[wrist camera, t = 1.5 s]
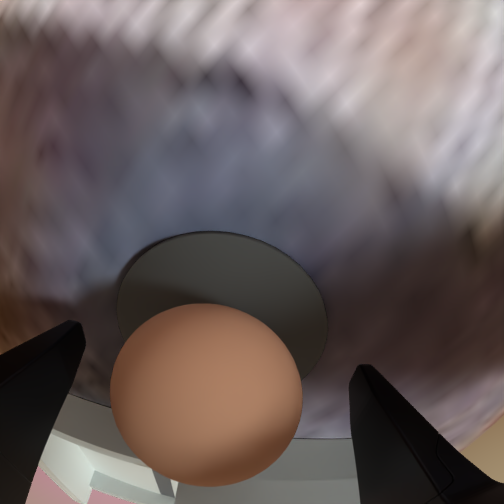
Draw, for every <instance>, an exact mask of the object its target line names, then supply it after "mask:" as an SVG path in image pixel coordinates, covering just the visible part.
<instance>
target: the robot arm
mask: <svg viewBox="0 0 504 504" xmlns="http://www.w3.org/2000/svg"><path fill="white" fill-rule="evenodd" d="M85 347H86V340H85V336H84V332H83V328H82V325H81V323H79V322H77V321H73V320H68V321H66V322H64V323H62V324H60V325H58V326H56V327H54V328H52V329H50V330H48V331H46V332H44V333H42V334H40V335H38V336H36V337H34V338H32V339H30V340H28V341H27V342H25V343H23V344H21V345H19V346H17V347H15V348H13V349H11V350H9V351H7V352H5V353H3V354H1V355H0V504H25V502H26V499H27V496H28V493H29V489H30V487H31V484H32V483H31V482H32V481H33V477H34V475H35V472H36V469H37V467H38V464H39V461H40V459H41V456H42V453H43V451H44V448H45V446H46V443H47V441H48V438H49V436H50V433H51V431H52V429H53V426H54V424H55V422H56V419H57V417H58V415H59V412H60V410H61V408H62V406H63V403H64V401H65V399H66V397H67V395H68V393H69V390H70V388H71V386H72V383H73V381H74V378H75V375H76V372H77V369H78V367H79V364H80V361H81V358H82V356H83V353H84V350H85ZM349 403H350V427H351V436H352V442H353V449H354V456H355V464H356V471H357V479H358V488H359V497H360V504H504V483H500V482H497V481H495V480H493V479H491V478H490V477H489V476H487V475H486V474H485V473H484V472H482V471H481V470H480V469H479V468H477V467H476V466H475V465H474V464H473V463H471V462H470V461H469V460H468V459H466V458H465V457H464V456H463V455H462V454H461V453H460V452H458V451H457V450H456V449H455V448H454V447H453V446H452V445H451V444H450V443H449V442H448V441H447V440H446V439H445V438H444V437H443V436H442V435H441V434H438V431H437V430H436V429H435V428H434V427H433V426H432V425H431V424H430V423H429V422H428V421H427V420H426V419H425V418H424V417H423V416H422V415H421V414H420V413H419V412H418V411H417V410H416V409H415V408H414V407H413V406H412V405H411V404H410V403H409V402H408V401H407V400H406V399H405V398H404V397H403V396H402V395H401V394H400V393H399V392H398V391H397V390H396V389H395V388H394V387H393V386H392V385H391V384H390V383H389V382H388V381H387V380H386V379H385V378H384V377H383V376H382V375H381V374H380V373H379V372H378V371H377V370H376V369H375V368H374V367H373V366H372V365H370V364H360V365H358V366H357V368H356V370H355V372H354V374H353V376H352V378H351V380H350V383H349Z"/></svg>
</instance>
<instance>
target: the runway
mask: <svg viewBox="0 0 504 504" xmlns="http://www.w3.org/2000/svg"><path fill="white" fill-rule="evenodd" d="M38 466H39V467H40V468H41V469H42V470H43V471H44V472H45V473H46V474H47V475H48V476H49V477H50V478H51V479H52V480H53V481H54V482H55V483H56V484H57V485H58V486H59V487H60V488H61V489H62V490H63V491H64V492H65V493H66V494H67V495H68V496H69V497H71V498H72V499H73V500H74V501H76V502H78V503H81V504H87V503H88V500H89V497H90V494H91V491H92V489H94V490H97V491H100V492H102V493H105V494H108V495H111V496H114V497H117V498H120V499H123V500H127V501H130V502H133V503H137V504H360V497H359V488H358V479H357V471H356V464H355V456H354V449H353V442H352V439H292V440H291V442H290V444H289V445H288V447H287V449H286V450H285V451H284V452H283V454H282V455H281V456H280V457H279V458H278V459H277V460H276V461H275V462H274V463H273V464H272V465H270V466H269V467H268V468H267V469H265V470H264V471H262V472H261V473H259V474H257V475H255V476H254V477H252V478H249V479H247V480H244V481H241V482H238V483H235V484H231V485H225V486H217V487H202V486H194V485H188V484H184V483H180V482H177V481H174V480H172V479H169V478H167V477H165V476H163V475H161V474H159V473H158V472H156V471H154V470H153V469H151V468H150V467H148V466H147V465H146V464H145V463H144V462H142V461H141V460H140V459H139V458H138V457H137V456H136V455H135V454H134V453H133V452H132V450H131V449H130V448H129V446H128V445H127V444H126V442H125V441H124V439H123V437H122V436H121V434H120V432H119V430H118V428H117V426H116V423H115V420H114V416H113V413H112V409H111V408H109V407H105V406H102V405H99V404H96V403H93V402H90V401H87V400H84V399H81V398H78V397H76V396H73V395H70V394H68V395H67V397H66V399H65V401H64V403H63V406H62V408H61V410H60V412H59V415H58V417H57V419H56V422H55V424H54V426H53V429H52V431H51V433H50V436H49V438H48V441H47V443H46V446H45V448H44V451H43V453H42V456H41V459H40V461H39V464H38Z"/></svg>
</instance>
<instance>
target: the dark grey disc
mask: <svg viewBox="0 0 504 504" xmlns="http://www.w3.org/2000/svg"><path fill="white" fill-rule="evenodd" d="M188 304H218V305H223V306H228V307H231V308H235V309H238V310H240V311H242V312H245V313H247V314H249V315H251V316H253V317H255V318H256V319H258V320H260V321H261V322H262V323H264V324H265V325H267V326H268V327H269V328H270V329H271V330H272V331H273V332H274V333H275V334H276V335H277V336H278V337H279V338H280V339H281V340H282V342H283V343H284V344H285V346H286V347H287V349H288V350H289V352H290V354H291V355H292V357H293V359H294V361H295V364H296V366H297V369H298V372H299V375H300V379H301V380H302V379H303V378H304V377H305V376H307V374H308V373H309V372H310V371H311V370H312V369H313V368H314V366H315V365H316V363H317V362H318V360H319V359H320V357H321V355H322V352H323V350H324V347H325V344H326V340H327V331H328V324H327V315H326V311H325V307H324V303H323V299H322V297H321V295H320V293H319V290H318V288H317V286H316V285H315V283H314V282H313V280H312V279H311V277H310V276H309V275H308V274H307V272H306V271H305V270H304V269H303V268H302V267H301V266H300V265H299V264H298V263H297V262H295V261H294V260H293V259H292V258H291V257H290V256H288V255H287V254H285V253H284V252H282V251H280V250H279V249H277V248H276V247H274V246H271V245H269V244H267V243H265V242H263V241H261V240H258V239H255V238H252V237H249V236H246V235H241V234H236V233H231V232H220V231H203V232H193V233H188V234H182V235H179V236H176V237H173V238H170V239H167V240H165V241H163V242H161V243H159V244H157V245H155V246H154V247H152V248H151V249H150V250H148V251H147V252H145V253H144V254H143V255H142V256H141V257H140V258H139V259H138V260H137V261H136V262H135V263H134V265H133V266H132V267H131V269H130V270H129V271H128V273H127V274H126V276H125V278H124V280H123V282H122V284H121V286H120V290H119V294H118V298H117V320H118V324H119V329H120V331H121V334H122V337H123V339H124V341H125V342H126V341H127V340H128V338H129V337H130V336H131V335H132V334H133V333H134V332H135V331H136V329H137V328H139V327H140V326H141V325H142V324H143V323H145V322H146V321H147V320H149V319H150V318H152V317H154V316H155V315H157V314H159V313H161V312H164V311H166V310H169V309H172V308H174V307H178V306H182V305H188Z"/></svg>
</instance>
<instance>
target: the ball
mask: <svg viewBox="0 0 504 504" xmlns="http://www.w3.org/2000/svg"><path fill="white" fill-rule="evenodd" d="M110 402H111V409H112V413H113V416H114V420H115V423H116V426H117V428H118V430H119V432H120V434H121V436H122V437H123V439H124V441H125V442H126V444H127V445H128V446H129V448H130V449H131V450H132V452H133V453H134V454H135V455H136V456H137V457H138V458H139V459H140V460H141V461H142V462H144V463H145V464H146V465H147V466H148V467H150V468H151V469H153V470H154V471H156V472H158V473H159V474H161V475H163V476H165V477H167V478H169V479H172V480H174V481H177V482H180V483H184V484H188V485H194V486H202V487H217V486H225V485H231V484H235V483H238V482H241V481H244V480H247V479H249V478H252V477H254V476H255V475H257V474H259V473H261V472H262V471H264V470H265V469H267V468H268V467H269V466H270V465H272V464H273V463H274V462H275V461H276V460H277V459H278V458H279V457H280V456H281V455H282V454H283V452H284V451H285V450H286V449H287V447H288V445H289V444H290V442H291V440H292V439H293V437H294V435H295V432H296V430H297V427H298V424H299V421H300V417H301V412H302V403H303V392H302V385H301V379H300V375H299V372H298V369H297V366H296V364H295V361H294V359H293V357H292V355H291V354H290V352H289V350H288V349H287V347H286V346H285V344H284V343H283V342H282V340H281V339H280V338H279V337H278V336H277V335H276V334H275V333H274V332H273V331H272V330H271V329H270V328H269V327H268V326H267V325H265V324H264V323H262V322H261V321H260V320H258V319H256V318H255V317H253V316H251V315H249V314H247V313H245V312H242V311H240V310H238V309H235V308H231V307H228V306H223V305H218V304H188V305H182V306H178V307H174V308H172V309H169V310H166V311H164V312H161V313H159V314H157V315H155V316H154V317H152V318H150V319H149V320H147V321H146V322H145V323H143V324H142V325H141V326H140V327H139V328H137V329H136V331H135V332H134V333H133V334H132V335H131V336H130V337H129V338H128V340H127V341H126V342H125V344H124V345H123V347H122V348H121V350H120V352H119V354H118V357H117V359H116V361H115V364H114V367H113V372H112V376H111V381H110Z"/></svg>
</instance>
